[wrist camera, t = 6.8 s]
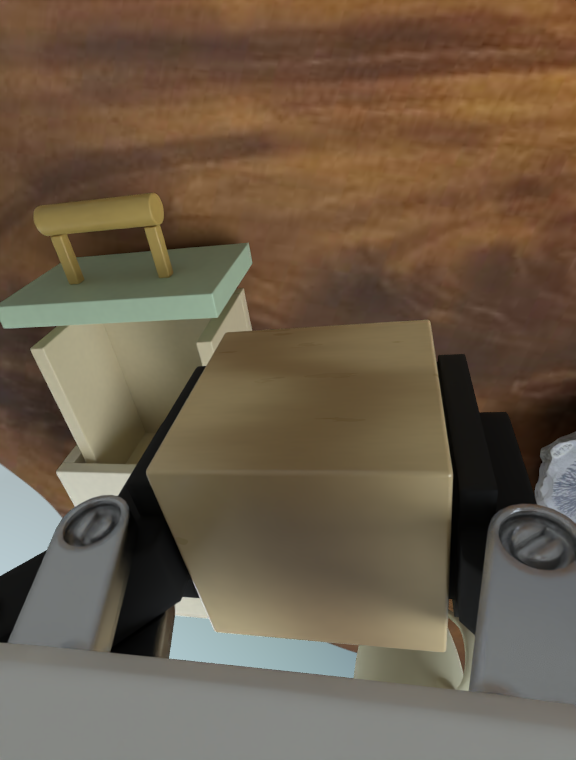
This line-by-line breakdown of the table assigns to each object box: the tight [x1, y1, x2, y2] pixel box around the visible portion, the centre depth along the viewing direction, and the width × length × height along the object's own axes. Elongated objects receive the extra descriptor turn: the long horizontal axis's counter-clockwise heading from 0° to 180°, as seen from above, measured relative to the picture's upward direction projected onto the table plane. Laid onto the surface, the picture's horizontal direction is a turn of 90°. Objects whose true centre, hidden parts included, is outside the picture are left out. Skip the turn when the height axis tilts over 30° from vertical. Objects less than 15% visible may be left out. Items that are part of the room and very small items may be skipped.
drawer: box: [0, 193, 252, 464], centre depth 28 cm, size 17×11×7 cm, turn 8°
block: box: [146, 320, 453, 652], centre depth 10 cm, size 4×4×4 cm
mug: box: [354, 610, 475, 691], centre depth 38 cm, size 11×10×12 cm
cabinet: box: [56, 445, 209, 619], centre depth 35 cm, size 15×13×9 cm
